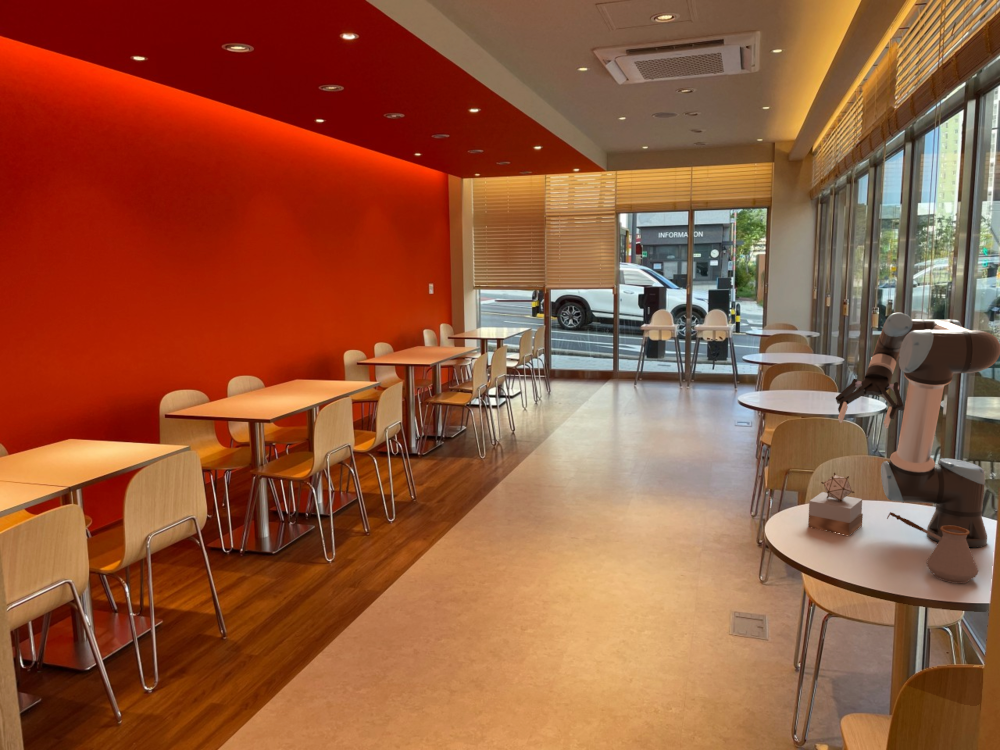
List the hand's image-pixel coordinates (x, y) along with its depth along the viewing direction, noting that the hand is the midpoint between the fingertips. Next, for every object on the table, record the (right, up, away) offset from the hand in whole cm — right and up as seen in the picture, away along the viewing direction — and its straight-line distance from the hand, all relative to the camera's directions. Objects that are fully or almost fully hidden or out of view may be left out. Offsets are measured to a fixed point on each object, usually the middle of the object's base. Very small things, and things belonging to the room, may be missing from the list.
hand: (862, 423), depth 234 cm
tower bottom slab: (-10, -32, -3) cm, 34 cm away
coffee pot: (-2, -37, -40) cm, 54 cm away
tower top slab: (-10, -28, -4) cm, 30 cm away
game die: (-10, -24, -4) cm, 26 cm away
